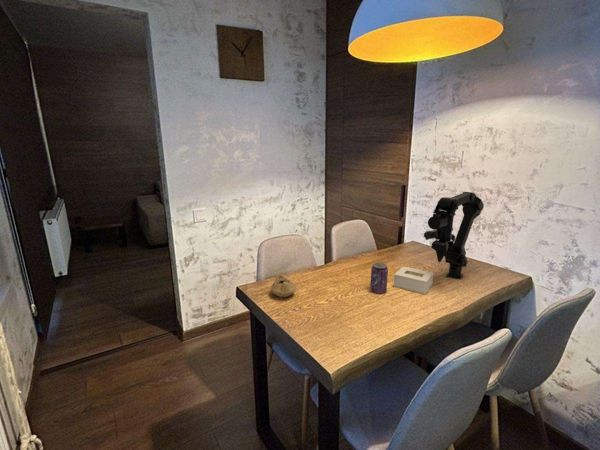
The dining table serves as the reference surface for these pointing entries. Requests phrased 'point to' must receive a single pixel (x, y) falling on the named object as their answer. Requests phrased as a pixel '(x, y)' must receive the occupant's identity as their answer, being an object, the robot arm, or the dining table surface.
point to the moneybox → (413, 280)
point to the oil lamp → (283, 287)
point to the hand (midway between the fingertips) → (441, 258)
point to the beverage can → (379, 277)
